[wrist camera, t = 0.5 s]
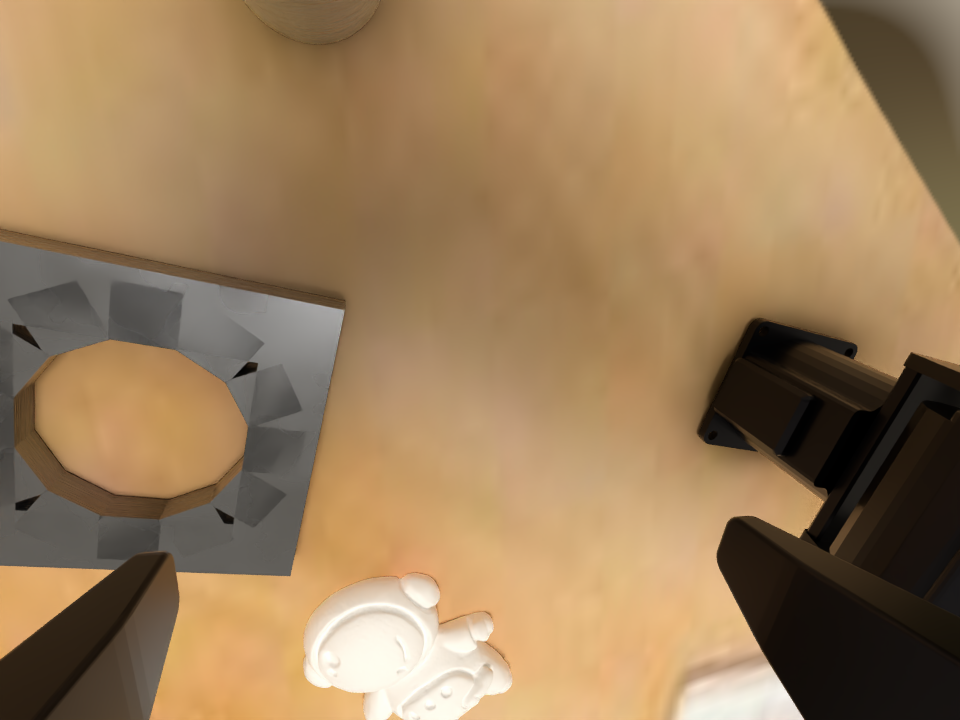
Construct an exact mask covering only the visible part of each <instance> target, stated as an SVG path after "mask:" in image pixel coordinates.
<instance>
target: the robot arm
mask: <svg viewBox="0 0 960 720" xmlns="http://www.w3.org/2000/svg"><path fill="white" fill-rule="evenodd" d="M761 328H762V330H761V331H760V329H761ZM759 331H760V332H759ZM856 353H857V346H856V345H855V344H854V343H851V342H849V341H846V340H842V339H838V338H834V337H831V336H827V335H823V334H819V333H815V332H812V331H808V330H804V329H800V328H796V327H793V326H789V325H785V324H781V323H777V322H774V321H770V320H766V319H756V320H755V321H753V322H752V323H751V325H750V326H749V328H748V330H747V332H746V334H745V337H744V339H743V341H742V343H741V345H740V347H739V349H738V351H737V353H736V355H735V357H734V359H733V362H732V364H731V366H730V368H729V370H728V372H727V374H726V376H725V378H724V380H723V382H722V384H721V387H720V389H719V391H718V393H717V395H716V397H715V399H714V401H713V403H712V405H711V407H710V409H709V412H708V414H707V416H706V418H705V420H704V422H703V424H702V426H701V428H700V431H699V437H700V438H701V439H702V440H703V441H704V442H705V443H707V444H711V445H718V446H724V447H731V448H737V449H744V450H751V451H757V452H760V453H761V454H762V455H764V456H765V457H766V458H768V459H769V460H770V461H772V462H773V463H774V464H776V465H777V466H778V467H780V468H781V469H782V470H784V471H785V472H786V473H787V474H789V475H790V476H791V477H793V478H794V479H795V480H797V481H798V482H799V483H801V484H802V485H803V486H805V487H806V488H807V489H809V490H810V491H811V492H813V493H814V494H815V495H817V496H818V497H819V498H821V499H822V500H823V501H824V503H823V505H822V507H821V508H820V510H819V512H818V513H817V515H816V517H815V518H814V520H813V522H812V523H811V525H810V527H809V528H808V529H805V530H804V532H803V533H802V535H801V537H800V538H797V537H795V536H793V535H791V534H789V533H787V532H785V531H783V530H781V529H779V528H777V527H775V526H773V525H771V524H769V523H767V522H765V521H763V520H761V519H759V518H756V517H753V516H741V517H733V518H731V519H730V520H729V521H728V522H727V524H726V527H725V530H724V533H723V536H722V539H721V542H720V544H719V547H718V550H717V563H718V566H719V569H720V571H721V573H722V575H723V576H724V578H725V580H726V582H727V584H728V586H729V588H730V590H731V592H732V594H733V596H734V598H735V600H736V602H737V604H738V606H739V608H740V610H741V612H742V614H743V616H744V617H745V619H746V621H747V623H748V625H749V627H750V629H751V631H752V633H753V635H754V637H755V639H756V641H757V643H758V644H759V646H760V648H761V650H762V652H763V653H764V655H765V657H766V658H767V660H768V662H769V664H770V665H771V667H772V668H773V670H774V672H775V673H776V675H777V676H778V678H779V680H780V681H781V683H782V684H783V686H784V688H785V689H786V691H787V693H788V694H789V696H790V697H791V699H792V701H793V702H794V704H795V705H796V707H797V709H798V710H799V712H800V713H801V715H802V717H803V718H804V720H960V365H957V364H954V363H950V362H946V361H942V360H939V359H935V358H931V357H928V356H924V355H920V354H916V353H913V352H911V353H910V355H909V356H908V358H907V360H906V361H905V363H904V366H906V367H905V369H904V370H903V372H902V374H901V375H900V377H899V379H897V378H894V377H892V376H890V375H887V374H885V373H883V372H881V371H878V370H876V369H874V368H871V367H869V366H867V365H864V364H862V363H860V362H857V361H855V360H853V359H854V357H855V355H856ZM710 432H711V434H710ZM178 608H179V590H178V583H177V576H176V569H175V563H174V558H173V556H172V554H171V553H170V552H168V551H157V552H142V553H138V554H136V555H134V556H133V557H131V558H130V559H129V560H127V561H126V562H125V563H123V564H122V565H121V566H120V567H118V568H117V569H116V570H114V571H113V572H112V573H111V574H109V575H108V576H107V577H106V578H104V579H103V580H102V581H100V582H99V583H98V584H97V585H95V586H94V587H93V588H91V589H90V590H89V591H88V592H86V593H85V594H84V595H82V596H81V597H80V598H79V599H77V600H76V601H75V602H73V603H72V604H71V605H70V606H68V607H67V608H66V609H64V610H63V611H62V612H61V613H59V614H58V615H57V616H55V617H54V618H53V619H52V620H50V621H49V622H48V623H46V624H45V625H44V626H43V627H41V628H40V629H39V630H37V631H36V632H35V633H34V634H32V635H31V636H30V637H29V638H27V639H26V640H25V641H23V642H22V643H21V644H20V645H18V646H17V647H16V648H14V649H13V650H12V651H11V652H9V653H8V654H7V655H5V656H4V657H3V658H2V659H0V720H149V718H150V715H151V711H152V708H153V704H154V700H155V696H156V693H157V689H158V685H159V681H160V678H161V674H162V670H163V666H164V663H165V659H166V655H167V651H168V647H169V644H170V640H171V636H172V632H173V629H174V625H175V621H176V617H177V613H178Z"/></svg>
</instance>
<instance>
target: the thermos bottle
mask: <svg viewBox="0 0 960 720" xmlns="http://www.w3.org/2000/svg"><path fill="white" fill-rule="evenodd" d="M243 1H244V2H245V4H246V5H247V6H248V7H249V8H250V10H251V11H252V12H253V13H254V14H255V15H256V16H257V17H258V18H259V19H260V20H261V21H262V22H263V23H265V24H266V25H267V26H269V27H270V28H271V29H273V30H275V31H276V32H278V33H280V34H281V35H283V36H285V37H288V38H290V39H292V40H296V41H299V42H303V43H308V44H329V43H335V42H338V41H341V40H344V39H346V38H348V37H350V36H352V35H353V34H355V33H356V32H357V31H359V30H360V29H361V28H362V27H363V26H364V25H365V24H366V23H367V22H368V21H369V20H370V18H371V17H372V16H373V14H374V12H375V11H376V9H377V7H378V5H379V2H380V0H243Z"/></svg>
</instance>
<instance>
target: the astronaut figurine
mask: <svg viewBox="0 0 960 720" xmlns="http://www.w3.org/2000/svg"><path fill="white" fill-rule="evenodd" d="M439 599H440V591H439V588H438V586H437V584H436V582H435V581H434V580H433V579H432V578H431V577H430V576H428V575H425V574H420V573H409V574H407V575H405V576H404V577H402V578H401V579H399V578H397V577H392V576H386V577H376V578H370V579H366V580H362V581H359V582H356V583H354V584H351V585H349V586H346V587H344V588H342V589H340V590H338V591H337V592H335V593H333V594H332V595H331V596H329V597H328V598H327V599H326V600H324V601H323V602H322V603H321V604H320V605H319V606H318V607H317V608H316V609H315V610H314V612H313V613H312V614H311V616H310V618H309V620H308V622H307V624H306V627H305V631H304V650H305V654H306V656H305V657H304V660H303V669H304V674H305V677H306V679H307V680H308V681H309V682H310V683H312V684H313V685H315V686H317V687H322V688H328V687H330V686H332V685H333V686H335V687H337V688H339V689H342V690H345V691H348V692H355V693H365V695H364V701H363V710H364V715H365V718H366V720H386V719H388V718H389V717H390V715H391V714H392V712H394V713H395V714H396V715H397V716H399V717H400V718H402V719H404V720H458V719H459V717H461V716H462V715H463V714H464V713H466V712H467V711H468V710H469V709H471V708H472V707H474V706H475V705H477V704H478V703H479V700H480V698H481V697H483V696H484V695H495V694H498V693H503V692H505V691H507V690H508V689H509V688H510V687H511V685H512V674H511V671H510V668H509V665H508V664H507V662H506V661H504V659H503V658H502V656H501V655H500V654H499V653H498V652H497V651H496V650H495V649H493V648H492V647H491V646H489V645H488V644H486V643H485V642H483V641H487V640H488V638H489V635H490V634H491V633H492V631H493V621H492V618H491V616H490V615H489V614H488V613H486V612H476V613H472V614H469V615H466V616H462V617H459V618H456V619H454V620H451V621H449V622H446V623H443V624H439V621H438V613H437V609H436V604H437V603H438V601H439Z"/></svg>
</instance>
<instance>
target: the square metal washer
mask: <svg viewBox="0 0 960 720" xmlns="http://www.w3.org/2000/svg"><path fill="white" fill-rule="evenodd" d="M344 312H345V301H344V300H339V299H335V298H330V297H325V296H320V295H315V294H310V293H306V292H301V291H296V290H291V289H286V288H281V287H277V286H272V285H267V284H262V283H257V282H252V281H248V280H243V279H238V278H233V277H228V276H223V275H218V274H214V273H209V272H204V271H199V270H194V269H189V268H185V267H180V266H175V265H170V264H165V263H160V262H156V261H151V260H146V259H141V258H136V257H131V256H127V255H122V254H117V253H112V252H107V251H102V250H98V249H93V248H88V247H83V246H78V245H73V244H68V243H64V242H59V241H54V240H49V239H44V238H39V237H35V236H30V235H25V234H20V233H15V232H10V231H6V230H1V229H0V566H27V567H55V568H82V569H109V570H116V569H117V568H118V567H120V566H121V565H122V564H123V563H125V562H126V561H127V560H129V559H130V558H131V557H133V556H134V555H136V554H138V553H142V552H157V551H168V552H170V553H171V554H172V556H173V558H174V563H175V569H176V572H191V573H218V574H246V575H273V576H290V575H291V570H292V565H293V560H294V555H295V551H296V546H297V541H298V536H299V531H300V526H301V521H302V517H303V512H304V507H305V502H306V497H307V492H308V487H309V482H310V478H311V473H312V468H313V463H314V458H315V453H316V448H317V444H318V439H319V434H320V429H321V424H322V419H323V414H324V410H325V405H326V400H327V395H328V390H329V385H330V380H331V375H332V371H333V366H334V361H335V356H336V351H337V346H338V341H339V337H340V332H341V327H342V322H343V317H344ZM109 339H111V340H118V341H124V342H130V343H136V344H143V345H149V346H155V347H161V348H168V349H174V350H177V351H178V352H180V353H181V354H183V355H184V356H186V357H187V358H189V359H190V360H192V361H193V362H195V363H196V364H198V365H199V366H201V367H203V368H204V369H206V370H207V371H209V372H210V373H212V374H213V375H215V376H216V377H218V378H219V379H221V380H222V381H224V382H225V383H226V384H227V386H228V388H229V390H230V392H231V394H232V396H233V398H234V400H235V402H236V404H237V406H238V408H239V409H240V411H241V413H242V415H243V417H244V419H245V421H246V423H247V425H248V432H247V439H246V445H245V452H244V456H243V457H242V458H241V459H240V460H239V461H238V462H237V464H236V465H235V466H234V467H233V468H232V469H231V470H230V471H229V472H228V473H227V474H226V475H225V476H224V477H223V478H222V479H221V480H220V481H219V482H218V483H217V484H215V485H212V486H209V487H206V488H203V489H200V490H197V491H194V492H191V493H188V494H185V495H182V496H179V497H176V498H173V499H170V500H168V499H155V498H142V497H129V496H116V495H113V494H111V493H109V492H107V491H105V490H103V489H101V488H99V487H97V486H95V485H93V484H91V483H89V482H87V481H85V480H83V479H81V478H79V477H77V476H75V475H73V474H71V473H69V472H67V471H65V470H64V469H63V468H62V466H61V465H60V464H59V462H58V461H57V460H56V458H55V457H54V455H53V454H52V453H51V451H50V450H49V449H48V447H47V446H46V445H45V443H44V442H43V441H42V439H41V438H40V437H39V435H38V434H37V433H36V431H35V430H34V381H35V380H36V379H37V378H38V377H39V376H40V375H41V373H42V372H43V371H44V370H45V369H46V368H47V366H48V365H49V364H50V363H51V362H52V361H53V360H54V358H55V357H56V356H57V355H58V354H61V353H65V352H68V351H71V350H75V349H78V348H82V347H85V346H89V345H92V344H96V343H99V342H102V341H106V340H109ZM248 361H249V362H248ZM247 362H248V363H247Z"/></svg>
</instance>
